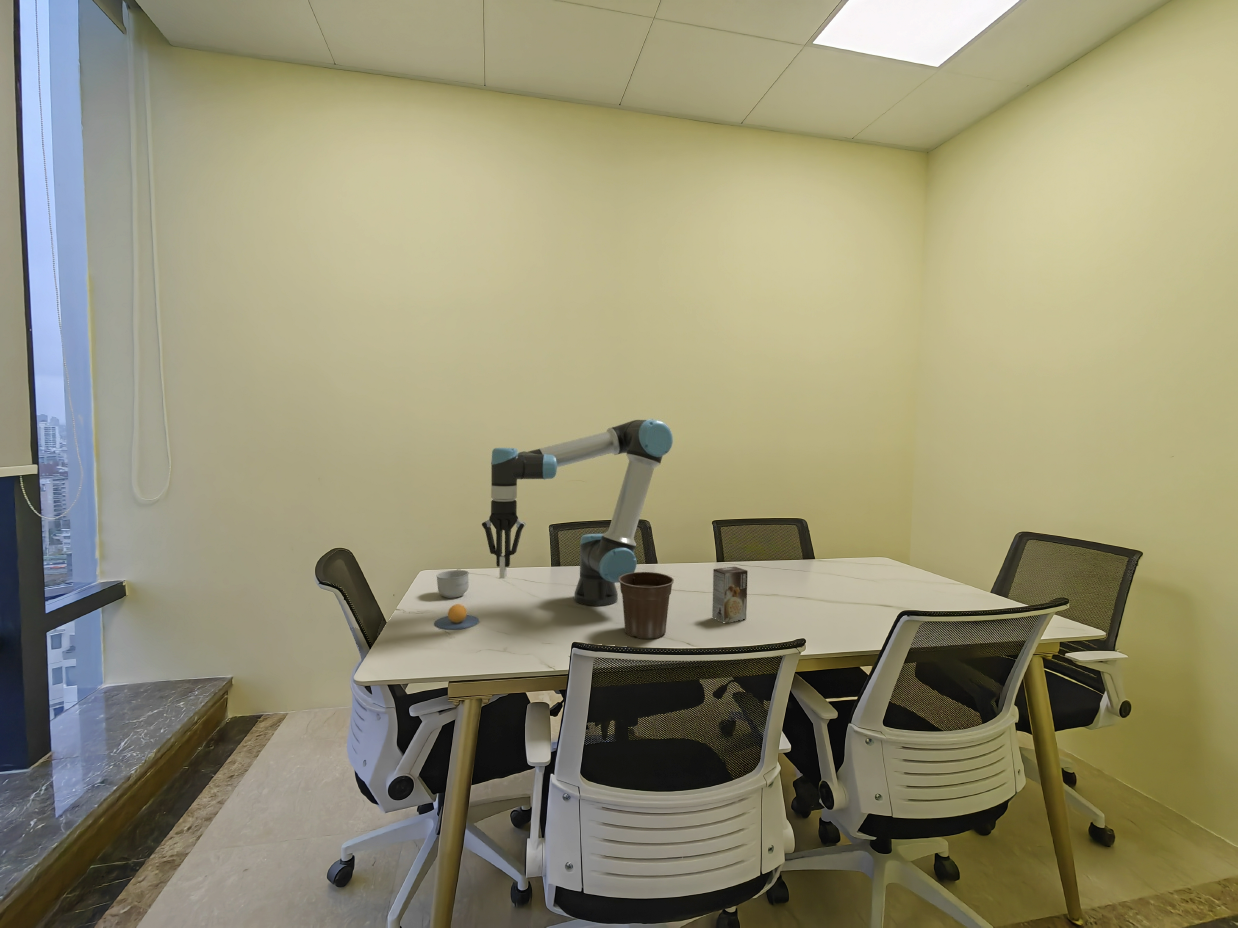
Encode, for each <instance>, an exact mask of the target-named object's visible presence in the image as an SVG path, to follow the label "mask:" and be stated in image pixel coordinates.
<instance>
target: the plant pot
mask: <svg viewBox="0 0 1238 928" xmlns="http://www.w3.org/2000/svg"><path fill="white" fill-rule="evenodd" d="M618 580H619V582H620V583H619V587H620V594H621V595H622V596H621V598H622V608H623V620H624V622H623V623H624V632H625V634H626V635H627V636H629V637H632V638H634V637H637V639H642V640H652V639H658V638H660V637H662V636H663V635H665V634H666V631H667V622H668V614H669V613H668V612H669V604H670V596H671V594H672V586H673V584H674V582H675V580H674V578H673V577H672V576H669V575H668V574H665V573H661V572H660V573H659V572H654V571H652V572H651V571H640V572H639V571H637V572H636V571H634V572H633V573H628V574H624V575H622V576H620V577H619V578H618Z"/></svg>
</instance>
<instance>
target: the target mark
mask: <svg viewBox="0 0 1238 928" xmlns="http://www.w3.org/2000/svg"><path fill="white" fill-rule="evenodd" d="M479 622H480V620H479V618H478V616H475V615H471V614H467V615H466V618H465V619H464V620H463V621H462V622H460V623H454V622H452V621H451V620H450V619H449V617H448V615H446V616H442V617H439V618H438V619H436V620H435V621H434V626H435V627H436V628H438V629H442V630H449V631H450V630H453V631H454V630H455V631H456V630H463V629H465V630H466V629H469V628H472V627H474V626H475V627H476V625H478V624H479Z"/></svg>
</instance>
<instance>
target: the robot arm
mask: <svg viewBox="0 0 1238 928" xmlns="http://www.w3.org/2000/svg"><path fill="white" fill-rule="evenodd" d="M673 438H674V437H673V433H672V431H671V428H670V427H669V426H668V425H667V424H666V423H665V422H663V421H661V420H657V419H653V418H651V419H634V420H631V421H627V422H625V423H621V424H618V425H616V426H612V427H609V428H607V430H606V431H604V432H600V433H597V434H592V435H589V436H585V437H580V438H577V439H572V440H568V441H564V442H561V443H556V444H553V445H548V446H545V447H541V448H537V449H533V450H528V451H526V450H524V451H519V452H518V449H517V448H515V447H495V448H493V449H492V451H491V462H490V465H491V466H490V468H491V470H490V471H491V472H490V473H491V479H490V480H491V486H490V487H491V488H490V489H491V490H490V492H491V493H490V499H492V500H491V501H490V515H489V517H488V518H489V519H488V520H485V521H484V522H482V523H481V526H482V528H483V529H484V531H485V532H484V533H485V534H486V540H487V541H486V542H487V544H488V549H489V553H490V555H494V556H495V558H496V560H495V561H496V562H495V564H496V567H497V568H498V567H499V579H506V578H507V577H508V576H507V575H508V573H507V572H508V570H507V569H508V567H509V568H510V565H511V556H513V555H515V554H516V553H517V550H518V547H519V543H520V539H521V535H522V531H523V529H524V528H525V526H526V522H522V521H520V520H519V517H518V515H517V509H518V507H517V506H518V503H517V500H516V499H517V496H518V493H517V492H518V480H544V481H545V480H549V479H550V480H551V479H554V478H555V477H556V475H557V473H558V471H557V470H558V468H560V467H564V466H568V465H571V464H575V463H579V462H583V461H587V460H590V459H594V458H597V457H598V458H599V457H603V456H606V455H610V454H612V455H614V456H617V455H622V454H626V457H627V459H628V463H627V467H626V470H625V474H624V476H623V480H622V484H621V488H620V491H619V494H618V498H617V500H616V504H615V508H614V511H613V514H612V518H611V521H610V525H609V527H608V530H607V531H605V532H604V533H588V534H584V535H582V536H581V537H580V543H579V578H578V581H577V585H576V587H575V590H574V597H573V598H574V601H575V602H577V603H578V604H581V605H585V606H593V607H594V606H596V607H597V606H609V605H612V604H615V603H616V602H617V601H618V597H619V596H618V590H617V586H616V584H620V582H619V580H618V578H619V577H620V576H622V575H624V574H628V573H633V572H636V569H637V563H638V562H637V561H638V560H637V558H636V555H635V550H636V549H637V548H636V547H637V543H636V540H635V539H634V538H635V534H636V532H637V528H638V524H639V521H640V517H641V514H642V511H643V506H644V504H645V500H646V497H647V493H648V491H649V487H650V483H651V480H652V477H653V474H654V470H655V469H656V468H657V467H659V466H660V465H661V463H662V459H663V456H665V455H666V454H669V452H670V451H671V449H672V447H673V442H674V439H673ZM515 525H516V529H515V533H514V534H515V535H514V539H513V542H512V536H511V534H512V533H511V532H512V529H513V528H514V526H515ZM492 526H493V527H494V529H495V535H496V536H495V537H496V538H495V540H494V535H493V530H492ZM503 531H504V554H503ZM511 542H512V544H511ZM511 545H512V546H511ZM615 583H616V584H615Z"/></svg>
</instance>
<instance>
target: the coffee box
mask: <svg viewBox="0 0 1238 928" xmlns="http://www.w3.org/2000/svg"><path fill="white" fill-rule="evenodd" d="M712 571H713V572H712V575H713V577H712V578H713V581H712V611H711V613H712V615H711V617H713V618H712V619H714V618H716V619H718V620H719V621H718V620H717V621H718V622H720V621H721V622H720V623H722V622H729V623H733V622H732V621H735V622H739V621H738V620H740V621H744V620H743V619H746V620H747V610H748V609H747V607H748V604H747V602H748V601H747V600H748V573H749V572H748V570H747V569H743V568H741V567H737V566H729V567H727V566H726V567H723V568H722V567H720V568H714V569H713V570H712ZM716 619H715V620H716Z"/></svg>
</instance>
